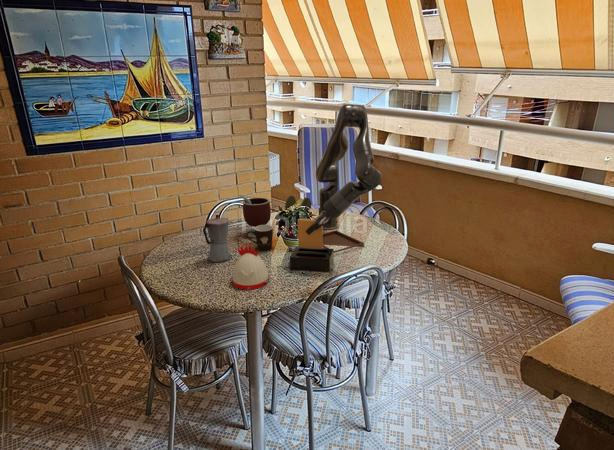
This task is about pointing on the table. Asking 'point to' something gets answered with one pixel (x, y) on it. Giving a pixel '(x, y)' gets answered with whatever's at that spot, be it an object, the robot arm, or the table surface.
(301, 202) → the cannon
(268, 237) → the coffee mug
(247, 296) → the table surface
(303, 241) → the toast
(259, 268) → the kitchen timer
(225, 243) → the moka pot
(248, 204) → the mate gourd
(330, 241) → the tray
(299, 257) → the low dark brown box
